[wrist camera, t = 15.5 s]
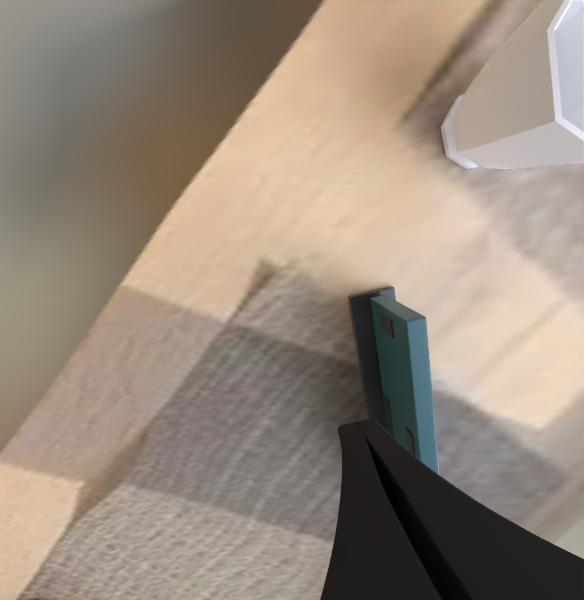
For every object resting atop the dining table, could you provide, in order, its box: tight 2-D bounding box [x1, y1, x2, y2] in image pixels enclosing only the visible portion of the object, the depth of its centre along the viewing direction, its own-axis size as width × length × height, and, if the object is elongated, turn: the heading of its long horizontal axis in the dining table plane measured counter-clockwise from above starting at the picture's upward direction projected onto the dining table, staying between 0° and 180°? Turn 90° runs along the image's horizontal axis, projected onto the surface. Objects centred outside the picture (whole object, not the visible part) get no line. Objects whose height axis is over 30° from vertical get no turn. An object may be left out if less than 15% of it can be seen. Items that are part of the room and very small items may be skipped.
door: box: [371, 295, 439, 475], centre depth 17 cm, size 12×1×5 cm, turn 11°
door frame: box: [348, 287, 396, 432], centre depth 16 cm, size 16×4×10 cm, turn 12°
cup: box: [441, 0, 584, 170], centre depth 13 cm, size 7×10×8 cm
